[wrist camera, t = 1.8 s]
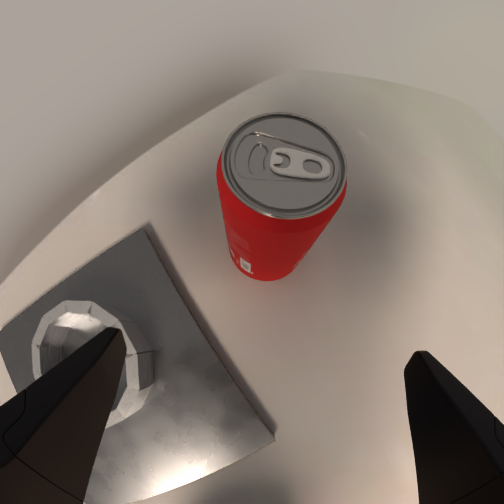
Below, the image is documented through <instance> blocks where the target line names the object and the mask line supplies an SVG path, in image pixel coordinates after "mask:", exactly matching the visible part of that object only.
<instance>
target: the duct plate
mask: <svg viewBox="0 0 504 504" xmlns="http://www.w3.org/2000/svg"><path fill="white" fill-rule="evenodd" d="M107 327H115V328H119V329H121V330H122V333H123V336H124V340H125V343H126V347H127V353H126V358H125V361H124V365H123V370H122V374H121V378H120V382H119V386H118V391H117V395H116V398H115V401H114V404H113V407H112V410H111V413H110V415H109V418H108V421H107V424H106V427H105V430H104V434H103V437H102V440H101V443H100V446H99V449H98V453H97V456H96V459H95V463H94V466H93V469H92V473H91V476H90V480H89V484H88V487H87V491H86V495H85V499H84V503H85V504H130V503H133V502H136V501H140V500H143V499H146V498H149V497H152V496H155V495H158V494H161V493H164V492H167V491H169V490H172V489H175V488H177V487H180V486H182V485H185V484H187V483H190V482H192V481H195V480H197V479H199V478H202V477H204V476H206V475H209V474H211V473H213V472H215V471H217V470H220V469H222V468H224V467H226V466H228V465H230V464H232V463H234V462H236V461H238V460H240V459H242V458H244V457H246V456H248V455H250V454H252V453H254V452H255V451H257V450H259V449H261V448H263V447H265V446H266V445H268V444H270V443H272V442H273V441H275V437H274V435H273V434H272V432H271V431H270V430H269V428H268V427H267V426H266V424H265V423H264V422H263V420H262V419H261V418H260V416H259V415H258V413H257V412H256V411H255V409H254V408H253V406H252V405H251V404H250V402H249V401H248V399H247V398H246V396H245V395H244V394H243V392H242V391H241V389H240V388H239V386H238V385H237V383H236V382H235V381H234V379H233V378H232V376H231V375H230V373H229V372H228V370H227V369H226V367H225V366H224V364H223V363H222V361H221V359H220V358H219V356H218V355H217V353H216V352H215V350H214V349H213V347H212V345H211V344H210V342H209V341H208V339H207V338H206V336H205V334H204V333H203V331H202V330H201V328H200V326H199V325H198V323H197V321H196V320H195V318H194V316H193V315H192V313H191V311H190V310H189V308H188V306H187V305H186V303H185V301H184V300H183V298H182V296H181V294H180V293H179V291H178V289H177V288H176V286H175V284H174V282H173V281H172V279H171V277H170V275H169V273H168V272H167V270H166V268H165V266H164V264H163V263H162V261H161V259H160V257H159V255H158V253H157V252H156V250H155V248H154V246H153V244H152V242H151V240H150V238H149V236H148V234H147V233H146V231H145V230H144V229H143V228H142V229H140V230H138V231H137V232H135V233H134V234H132V235H131V236H129V237H128V238H126V239H124V240H123V241H121V242H120V243H118V244H117V245H115V246H114V247H112V248H111V249H109V250H108V251H106V252H105V253H103V254H102V255H100V256H99V257H97V258H96V259H95V260H93V261H92V262H90V263H89V264H87V265H86V266H84V267H83V268H82V269H80V270H79V271H77V272H76V273H75V274H73V275H72V276H70V277H69V278H68V279H66V280H65V281H63V282H62V283H61V284H59V285H58V286H57V287H55V288H54V289H53V290H51V291H50V292H49V293H47V294H46V295H45V296H43V297H42V298H41V299H39V300H38V301H37V302H35V303H34V304H33V305H32V306H30V307H29V308H28V309H26V310H25V311H24V312H23V313H21V314H20V315H19V316H18V317H16V318H15V319H14V320H13V321H11V322H10V323H9V324H8V325H7V326H5V327H4V328H3V329H2V330H1V331H0V352H1V355H2V357H3V360H4V363H5V365H6V368H7V370H8V373H9V375H10V378H11V380H12V383H13V385H14V387H15V389H16V392H17V394H18V393H19V392H21V391H22V390H23V389H26V387H27V386H29V385H30V384H31V383H33V382H34V381H35V380H37V379H38V378H39V377H40V376H42V375H43V374H44V373H46V372H47V371H48V370H50V369H51V368H52V367H54V366H55V365H56V364H58V363H59V362H60V361H62V360H63V359H64V358H66V357H67V356H68V355H70V354H71V353H72V352H74V351H75V350H77V349H78V348H79V347H81V346H82V345H83V344H85V343H86V342H87V341H89V340H90V339H91V338H93V337H94V336H96V335H97V334H98V333H100V332H101V331H102V330H104V329H105V328H107Z"/></svg>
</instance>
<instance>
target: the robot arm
mask: <svg viewBox="0 0 504 504" xmlns="http://www.w3.org/2000/svg"><path fill="white" fill-rule="evenodd" d="M126 353H127V347H126V343H125V340H124V336H123V333H122V330H121V329H119V328H115V327H107V328H105V329H104V330H102V331H101V332H100V333H98V334H97V335H96V336H94V337H93V338H91V339H90V340H89V341H87V342H86V343H85V344H83V345H82V346H81V347H79V348H78V349H77V350H75V351H74V352H72V353H71V354H70V355H68V356H67V357H66V358H64V359H63V360H62V361H60V362H59V363H58V364H56V365H55V366H54V367H52V368H51V369H50V370H48V371H47V372H46V373H44V374H43V375H42V376H40V377H39V378H38V379H37V380H35V381H34V382H33V383H31V384H30V385H29V386H27V387H26V389H23V390H22V391H21V392H19V393H18V394H17V395H15V396H14V397H13V398H11V399H10V400H9V401H7V402H6V403H4V404H3V405H1V406H0V504H83V503H84V499H85V495H86V491H87V487H88V484H89V480H90V476H91V473H92V469H93V466H94V463H95V459H96V456H97V453H98V449H99V446H100V443H101V440H102V437H103V434H104V430H105V427H106V424H107V421H108V418H109V415H110V413H111V410H112V407H113V404H114V401H115V398H116V395H117V391H118V386H119V382H120V378H121V374H122V370H123V365H124V361H125V358H126ZM404 379H405V389H406V400H407V411H408V418H409V424H410V430H411V436H412V443H413V450H414V457H415V465H416V473H417V483H418V494H419V504H504V425H503V424H502V423H501V422H500V421H499V419H498V418H497V417H495V416H494V415H493V414H492V412H491V411H490V410H489V409H488V408H486V407H485V406H484V405H483V404H482V403H481V402H480V401H479V400H478V399H477V398H476V397H475V396H474V395H473V394H472V393H471V392H470V391H469V390H468V389H467V388H466V387H465V386H464V385H463V384H462V383H461V382H460V381H459V380H458V379H457V378H456V377H455V376H454V375H453V374H451V373H450V372H449V371H448V370H447V369H446V368H445V367H444V366H443V365H442V364H441V363H440V362H439V361H438V360H437V359H435V358H434V357H433V356H432V355H431V354H430V353H429V352H428V351H416V352H415V353H414V354H413V355H412V357H411V359H410V360H409V362H408V363H407V365H406V367H405V369H404Z"/></svg>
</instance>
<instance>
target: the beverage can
mask: <svg viewBox="0 0 504 504" xmlns="http://www.w3.org/2000/svg"><path fill="white" fill-rule="evenodd" d="M216 175H217V184H218V190H219V195H220V201H221V207H222V212H223V218H224V223H225V229H226V234H227V239H228V245H229V250H230V254H231V257H232V260H233V261H234V263H235V265H236V266H237V267H238V268H239V270H240V271H242V272H243V273H244V274H245V275H247V276H249V277H251V278H253V279H256V280H261V281H273V280H277V279H280V278H283V277H285V276H286V275H288V274H289V273H291V272H292V271H293V270H294V269H295V267H296V266H297V265H298V264H299V262H300V261H301V260H302V258H303V257H304V256H305V254H306V253H307V252H308V250H309V249H310V247H311V246H312V245H313V243H314V242H315V241H316V239H317V238H318V237H319V235H320V234H321V232H322V231H323V230H324V228H325V227H326V226H327V224H328V223H329V221H330V220H331V219H332V217H333V216H334V214H335V213H336V212H337V210H338V209H339V207H340V205H341V203H342V201H343V199H344V196H345V192H346V186H347V163H346V159H345V155H344V153H343V150H342V148H341V146H340V145H339V143H338V142H337V140H336V139H335V138H334V136H333V135H332V134H331V133H330V132H329V131H328V130H327V129H326V128H325V127H323V126H322V125H320V124H318V123H317V122H315V121H313V120H311V119H309V118H306V117H303V116H300V115H296V114H291V113H281V112H277V113H267V114H262V115H258V116H256V117H253V118H251V119H249V120H247V121H245V122H243V123H242V124H241V125H239V126H238V127H237V128H236V129H235V130H234V131H233V132H232V133H231V134H230V136H229V137H228V139H227V141H226V142H225V145H224V147H223V150H222V152H221V154H220V157H219V160H218V164H217V173H216Z"/></svg>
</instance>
